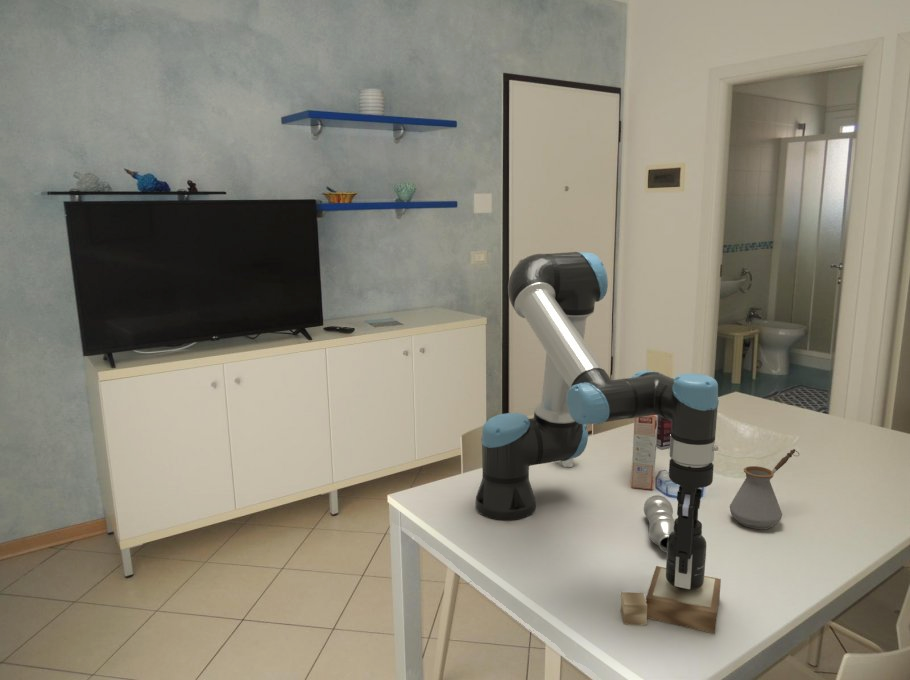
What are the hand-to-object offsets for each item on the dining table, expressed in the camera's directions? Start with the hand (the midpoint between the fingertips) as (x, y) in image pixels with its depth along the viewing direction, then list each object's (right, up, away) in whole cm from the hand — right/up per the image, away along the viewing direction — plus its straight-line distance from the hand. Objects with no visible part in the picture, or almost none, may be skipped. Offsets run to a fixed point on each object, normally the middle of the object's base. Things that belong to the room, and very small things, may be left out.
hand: (684, 576), depth 124 cm
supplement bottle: (0, -1, 0) cm, 1 cm away
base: (0, -6, +1) cm, 6 cm away
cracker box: (+9, +5, +60) cm, 61 cm away
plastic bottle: (+6, +4, +38) cm, 38 cm away
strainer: (-10, +7, +71) cm, 72 cm away
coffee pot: (+33, +1, +37) cm, 49 cm away
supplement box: (+24, +11, +86) cm, 89 cm away
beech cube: (-10, -7, -2) cm, 12 cm away
